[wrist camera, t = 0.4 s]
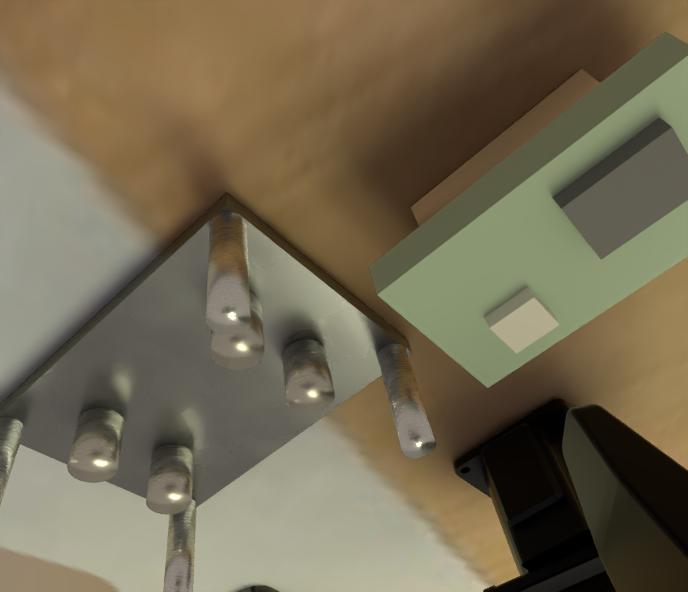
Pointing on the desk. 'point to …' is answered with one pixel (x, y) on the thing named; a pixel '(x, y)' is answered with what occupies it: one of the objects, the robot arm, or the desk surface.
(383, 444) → the desk surface
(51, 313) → the desk surface
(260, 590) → the phone
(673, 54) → the board
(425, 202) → the block
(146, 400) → the chassis
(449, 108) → the desk surface
